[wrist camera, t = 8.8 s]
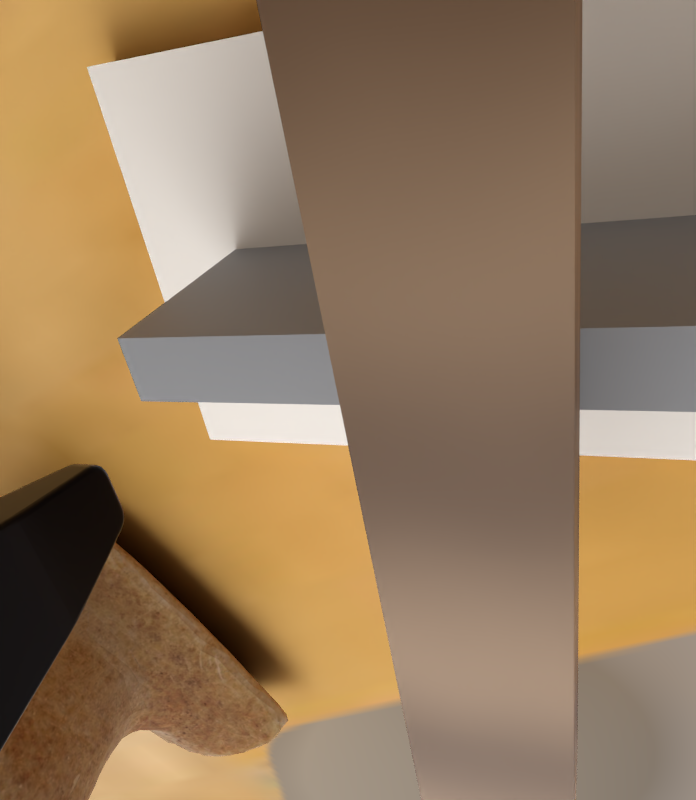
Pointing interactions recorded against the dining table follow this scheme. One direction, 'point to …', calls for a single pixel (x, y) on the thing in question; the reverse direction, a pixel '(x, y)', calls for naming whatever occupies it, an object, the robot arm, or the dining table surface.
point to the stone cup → (132, 690)
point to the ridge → (290, 264)
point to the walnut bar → (454, 352)
